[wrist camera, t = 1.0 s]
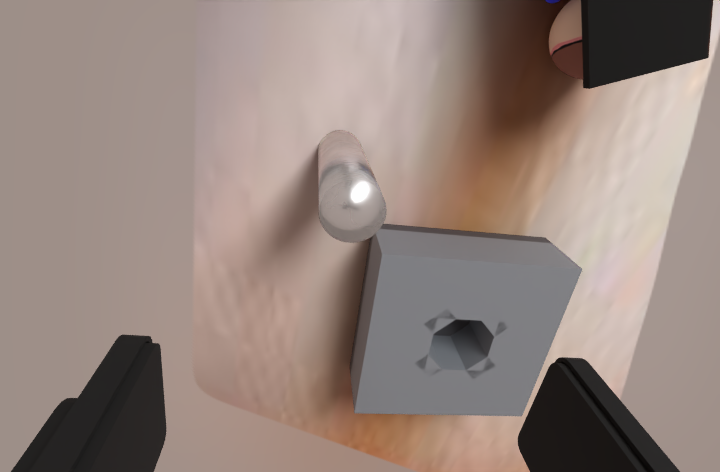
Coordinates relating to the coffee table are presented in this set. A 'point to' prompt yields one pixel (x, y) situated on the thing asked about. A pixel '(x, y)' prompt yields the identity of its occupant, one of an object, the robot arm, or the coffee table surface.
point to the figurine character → (628, 37)
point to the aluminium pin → (348, 189)
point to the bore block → (456, 320)
